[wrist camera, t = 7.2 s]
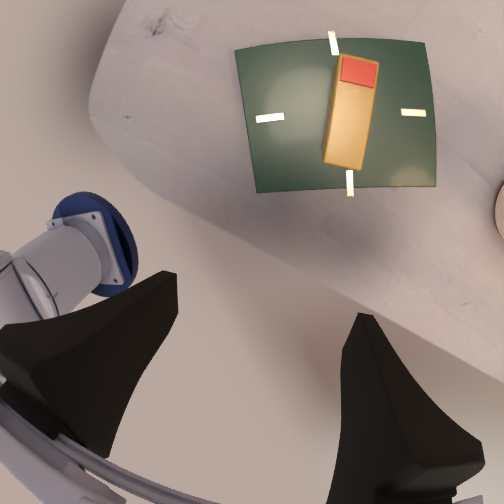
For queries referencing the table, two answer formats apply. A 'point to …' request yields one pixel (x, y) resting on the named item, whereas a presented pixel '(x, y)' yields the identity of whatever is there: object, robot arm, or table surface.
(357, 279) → the table surface
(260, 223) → the table surface
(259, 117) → the knob panel
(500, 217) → the drinking glass
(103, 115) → the table surface
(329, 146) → the yellow block
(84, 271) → the robot arm
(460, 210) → the table surface
